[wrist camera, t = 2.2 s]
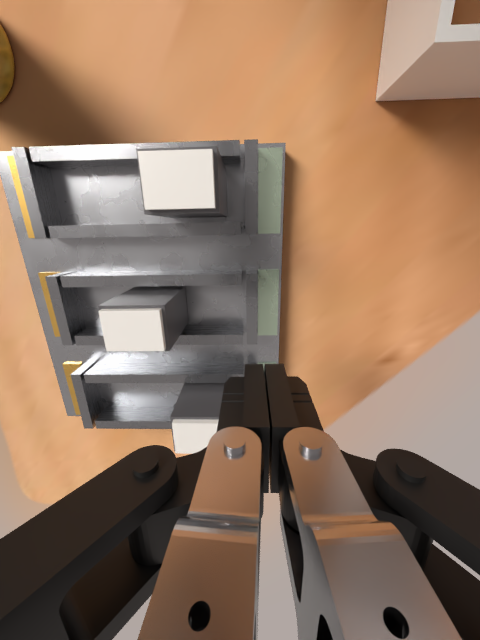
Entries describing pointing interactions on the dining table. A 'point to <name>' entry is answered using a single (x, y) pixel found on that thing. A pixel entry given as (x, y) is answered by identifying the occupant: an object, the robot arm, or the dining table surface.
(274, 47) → the dining table surface
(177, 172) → the breaker near
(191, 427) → the breaker far
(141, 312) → the block
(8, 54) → the vase
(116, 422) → the panel
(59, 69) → the dining table surface
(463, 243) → the dining table surface
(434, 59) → the frame
